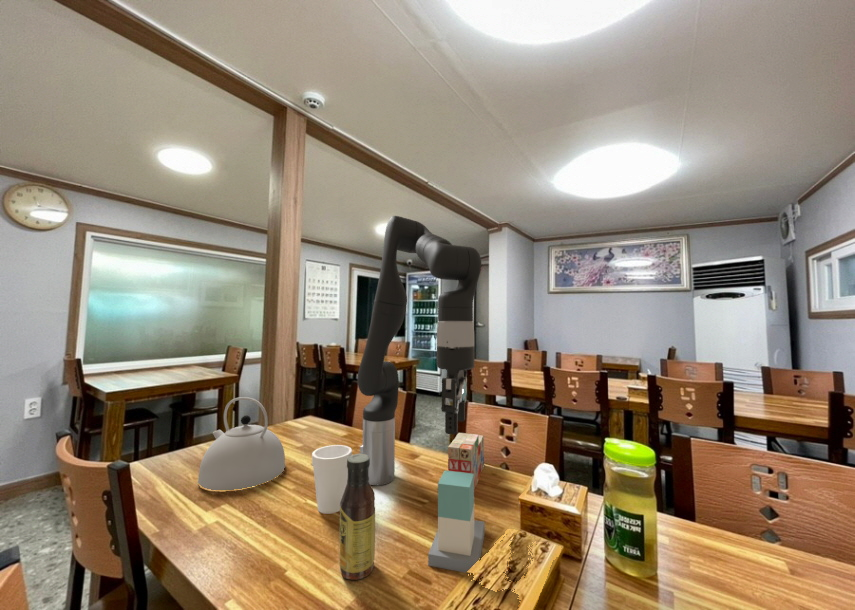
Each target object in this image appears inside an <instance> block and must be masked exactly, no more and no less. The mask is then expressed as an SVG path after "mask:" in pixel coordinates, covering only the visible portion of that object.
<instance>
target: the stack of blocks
mask: <svg viewBox="0 0 855 610" xmlns="http://www.w3.org/2000/svg"><path fill="white" fill-rule="evenodd" d="M447 450H448V451H447V455H448V456H447V460H448V461H447V465H448V468H447V471H454V472H463V473H472V474H474V491H475V489H476V487H477V485H478V484H479V479H480V476H481V474H480V473H482V472H483V469H484V467H483V465H484V466H485V444H484V435H480V434H474V433H465V432H457V434H456V436H455V437H454V439H453V440H452V442H450V444H449V445H448V446H447Z"/></svg>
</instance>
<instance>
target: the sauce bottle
mask: <svg viewBox="0 0 855 610" xmlns="http://www.w3.org/2000/svg"><path fill="white" fill-rule="evenodd" d="M369 465H370V458H369V456H368V455H366V454H360V453H355V454H352V456H350V457H348V458H347V468H348V479H347V485H346V488H345V491H344V494H343V496H342V499H341V502H340V511H339V552H338V553H339V556H338V557H339V561H338V564H339V570H340V573H341V575H342V578H344V579H346V580H351V581H358V580H362V579H364V578H367V576H369V575H370V574H371V573H372V571H373V569H374V565H375V557H376V556H375V549H376V548H375V547H376V545H375V544H376V533H375V532H376V506H375V500H376V496H375V492H374V489H373V487H372V485H370V484H369V482H368V481H369V477H368V469H369Z"/></svg>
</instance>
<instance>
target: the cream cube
mask: <svg viewBox="0 0 855 610" xmlns="http://www.w3.org/2000/svg"><path fill="white" fill-rule="evenodd" d="M474 520H475V506H474V507H473V511H472V515H471V519H470V521H464V520H457V519H451V518H444V517H438V516H437V531H438V550H440V551H445V552H451V553H457V554H463V555H468V556H470V555H471V550H472V545H473V541H474Z"/></svg>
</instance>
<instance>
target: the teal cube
mask: <svg viewBox="0 0 855 610" xmlns="http://www.w3.org/2000/svg"><path fill="white" fill-rule="evenodd" d="M473 507H474V508H475V490H474V474H472V473H463V472H454V471H448V470H444V471H443V473H442V475H441V477H440V478H439V480H438V482H437V518H438V517H444V518H451V519H457V520H464V521H470V519H471V515H472V511H473Z"/></svg>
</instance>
